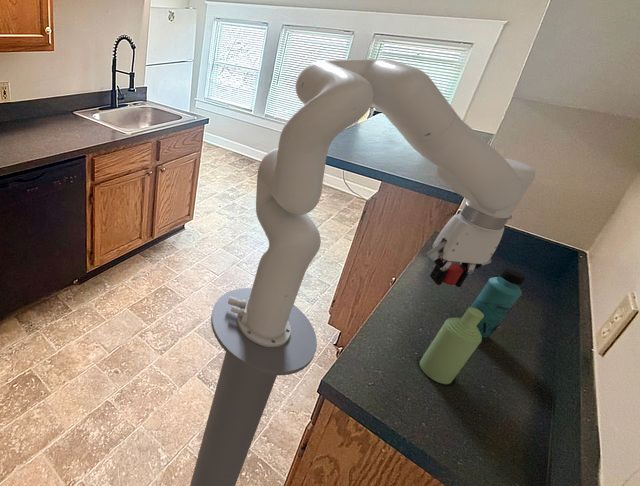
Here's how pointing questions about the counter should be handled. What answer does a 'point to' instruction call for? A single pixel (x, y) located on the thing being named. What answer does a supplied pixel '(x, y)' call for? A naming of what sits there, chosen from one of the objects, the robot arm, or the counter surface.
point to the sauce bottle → (452, 347)
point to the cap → (453, 274)
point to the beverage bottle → (498, 299)
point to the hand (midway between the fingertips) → (444, 281)
